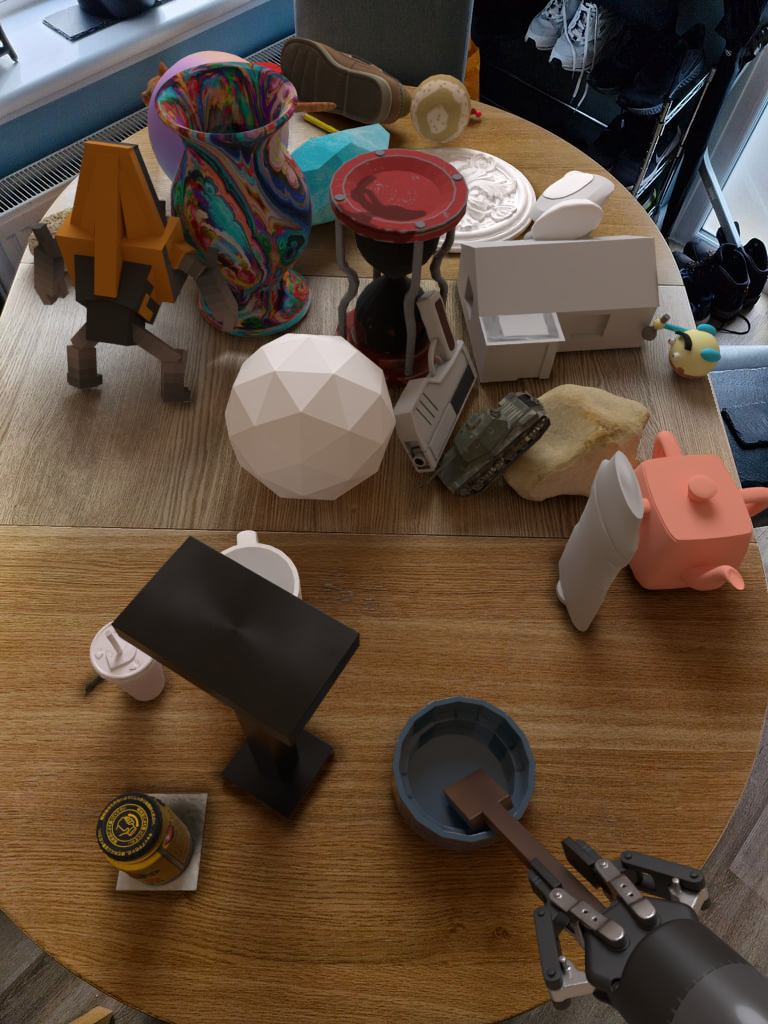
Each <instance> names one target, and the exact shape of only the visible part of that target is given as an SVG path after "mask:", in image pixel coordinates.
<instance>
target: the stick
mask: <svg viewBox="0 0 768 1024" xmlns="http://www.w3.org/2000/svg"><path fill="white" fill-rule="evenodd" d="M103 679H104V678H102V677H101V676H100V675H99V674H98V675H97V676H96V677H95V678H94V679H93V680H91V681H90V682H88V683H86V685H85V689H84V690H85V692H86V693H88V692H90V691H91V690H92V689H93V688H94V687H96V686H97V684H98V683H100V682H101V681H102V680H103Z"/></svg>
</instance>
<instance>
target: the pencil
mask: <svg viewBox="0 0 768 1024" xmlns="http://www.w3.org/2000/svg"><path fill="white" fill-rule="evenodd" d="M302 117H303V120H305V121H307V122H309V123H311V124H313V125H315V126H316V127H318V128H321V129H322V130H324V131H325V132H328V133H329V134H332V133H336V132H340V131H341V130H338V129H337V128H335V127H333V126H331V125H329V124H327V123H325V122H323V121H322V120H320V119H318V118H316V117H314V116H312V115H311V114H308V112H304V114H303V115H302Z"/></svg>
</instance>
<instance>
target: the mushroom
mask: <svg viewBox="0 0 768 1024" xmlns="http://www.w3.org/2000/svg"><path fill="white" fill-rule="evenodd" d="M414 90H415V91H414V93H413V95H412V100H411V107H410V113H409V114H410V119H411V123H412V125H413V127H414V130H415V132H417V133H418V135H420V137H421V138H422V139H423V140H426V141H427V142H429V143H433V144H440V145H441V144H445V143H450V142H453V141H454V140H456V139H457V138H459V136H461V135H462V134H463V132H464V131H465V130H466V128H467V126H468V124H469V122H470V120H471V116H472V115H471V109H472V108H473V107H472V101H471V96H470V94H469V92H468V89H467V87H466V86H465V85H464V84H463V83H462V82H461V81H460V80H459V79H457V78H456V77H454V76H452V75H449V74H442V73H441V74H435V75H431V76H429V77H428V78H426V79H424V80H422V81H421V83H420V84H419V85H418V86H417V87H416V89H414Z"/></svg>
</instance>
